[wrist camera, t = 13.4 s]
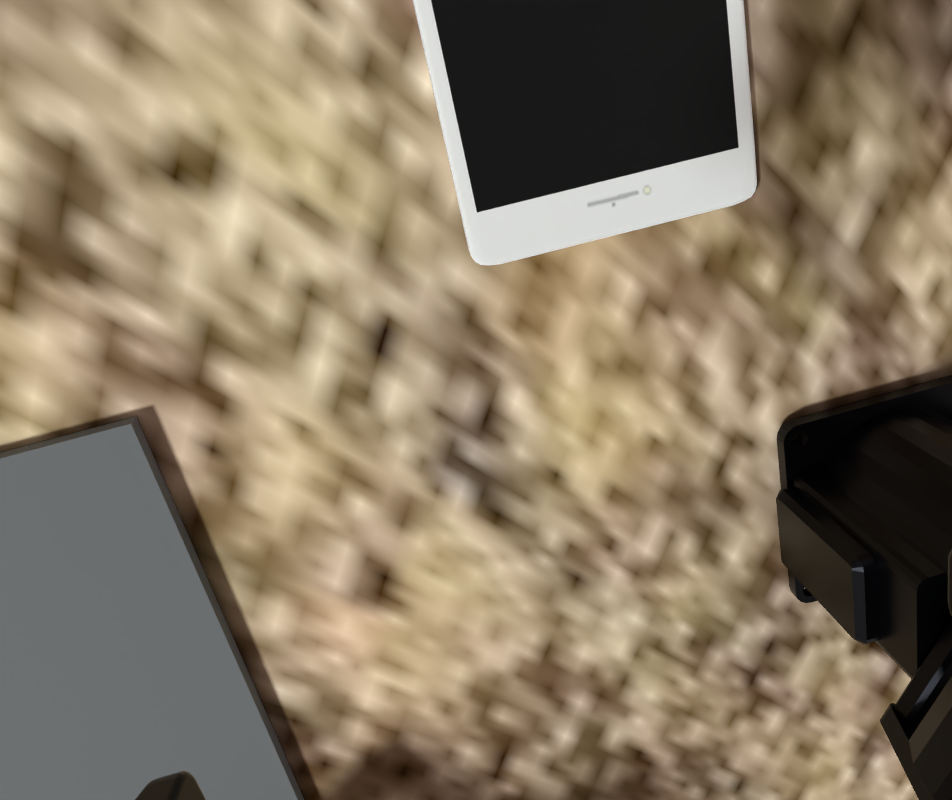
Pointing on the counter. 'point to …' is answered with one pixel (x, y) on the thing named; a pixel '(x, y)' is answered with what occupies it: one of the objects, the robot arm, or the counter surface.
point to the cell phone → (588, 115)
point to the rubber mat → (116, 636)
